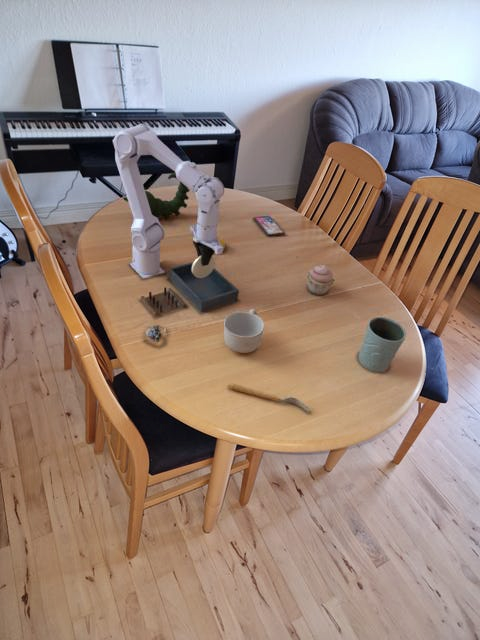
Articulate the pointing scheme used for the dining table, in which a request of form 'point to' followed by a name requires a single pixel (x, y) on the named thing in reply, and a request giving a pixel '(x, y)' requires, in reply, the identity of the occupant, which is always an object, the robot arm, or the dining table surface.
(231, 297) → the dark blue tray
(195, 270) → the plate
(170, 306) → the plate rack
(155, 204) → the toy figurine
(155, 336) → the oyster shell
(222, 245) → the bread roll
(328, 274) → the cupcake
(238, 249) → the dining table surface
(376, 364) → the green cylindrical pot
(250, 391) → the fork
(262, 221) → the smartphone
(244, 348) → the teacup
